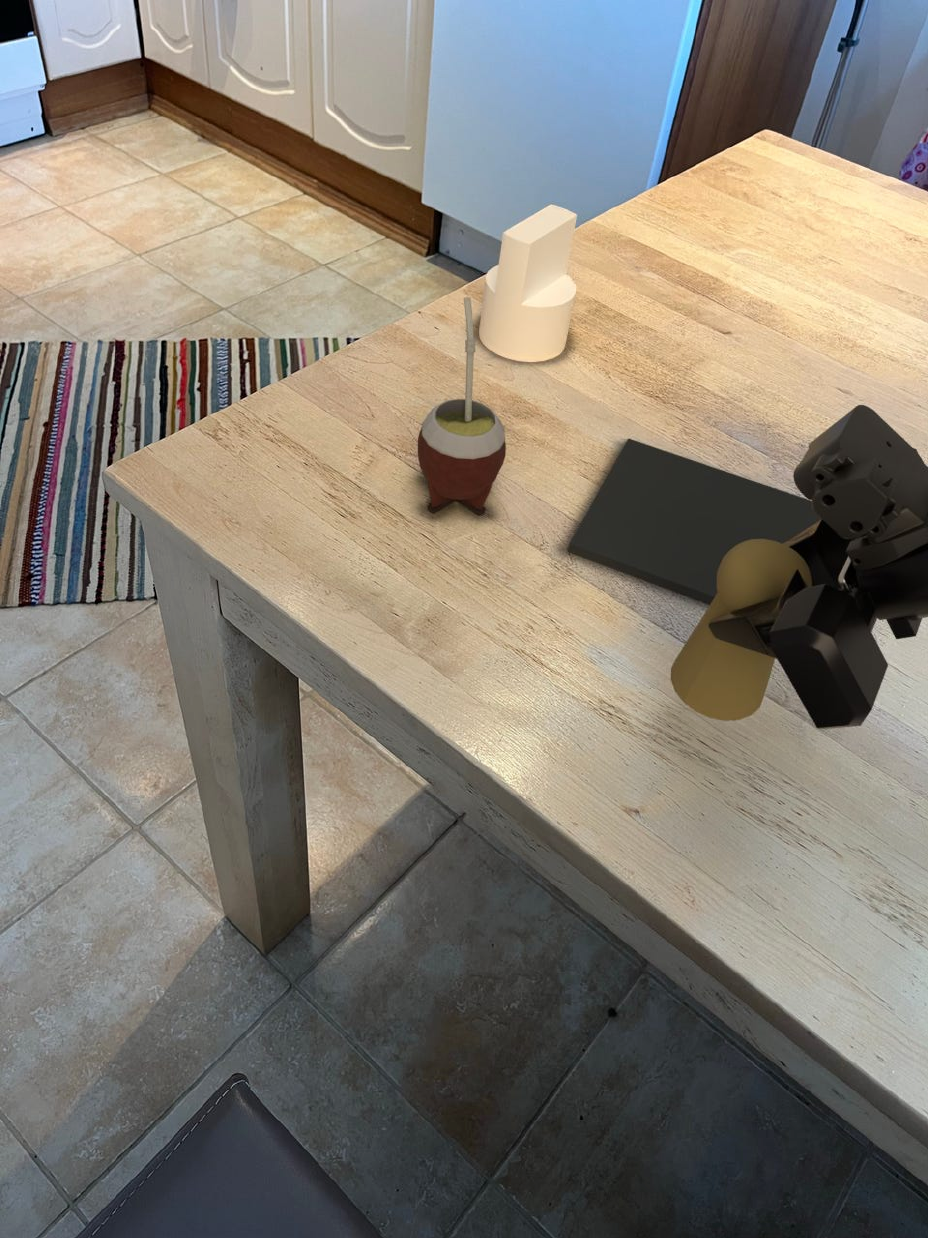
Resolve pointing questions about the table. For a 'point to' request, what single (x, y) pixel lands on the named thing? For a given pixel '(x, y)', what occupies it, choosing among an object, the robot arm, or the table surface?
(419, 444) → the mate gourd
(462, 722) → the table surface
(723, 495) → the mat
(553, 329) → the base with upright slab
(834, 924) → the table surface
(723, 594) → the mustard peg figure
